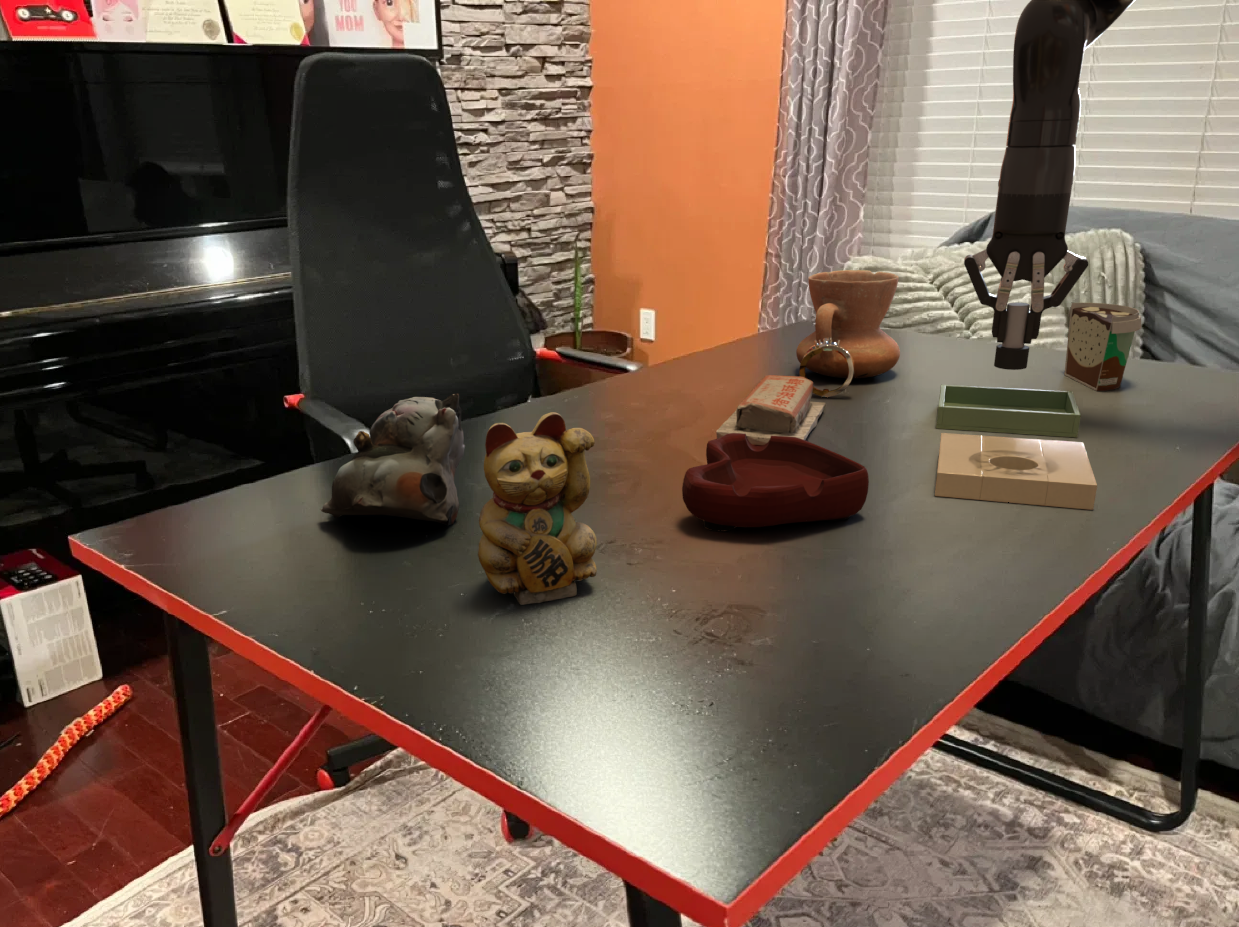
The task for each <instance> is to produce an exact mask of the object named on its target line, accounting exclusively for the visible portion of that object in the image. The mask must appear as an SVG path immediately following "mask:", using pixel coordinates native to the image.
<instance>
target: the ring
mask: <svg viewBox="0 0 1239 927" xmlns="http://www.w3.org/2000/svg"><path fill="white" fill-rule="evenodd" d="M839 342H840V340H837V343H836V342H832V338H831V337H829V338H824V339H823V342H821V340H819V343H818V344H817V340H815V341H814V343H815V345H814V346H812V347H811V348H810V349H809V350H808V351H807V352H806V354H805V355H804V357H803V359H802V361H801V364H800V363H799V376H801V377H804V378H806V379H808V377H807V374H806V369H807V368H806V364H807V362H808V361H809V360H810V359H811V358H812V357H813V356H815V355H817V354H819V353H821V352H822V350H823V351H832V350H835V351H836V352H838V353H839V354H841V355H842V356H843V357H844V358H845V359H846V361H847V363H848V367H849V373H848V377H847V378H846V379H845V381H844V383H843V384H842V385H841V386H839V387H838V388H835V389H832V390H830V389H829V388H823V389H819V388H817V387H815V386H814V385H813V392H812V394H814V395H816V396H819V397H821V398H822V397H823V396H825V397H827V398H828V397H834V396H837V395H839V394H841V393H842V392H844V391H845V390H846V389H847V388H848V387H849V386H850V384H851V383H852V381H853V380H854V378H853V376H854V371H855V365H854V361H853V358H852V356H851V355H850V354H849V352H847V351H846V350H845V349H844V348H842V347H840V346H838V345H839Z"/></svg>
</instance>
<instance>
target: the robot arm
mask: <svg viewBox="0 0 1239 927" xmlns="http://www.w3.org/2000/svg"><path fill="white" fill-rule="evenodd" d="M1135 1H1136V0H1030V1H1029V2H1028V3H1027V4H1026V6H1025V7H1024V8H1023V10H1022V11H1021V13H1020V15H1019V18H1018V20H1017V24H1016V28H1015V33H1014V40H1013V55H1012V104H1011V108H1010V109H1011V110H1010V113H1009V120H1008V121H1009V122H1008V128H1007V136H1006V144H1005V146H1006V147H1005V150H1004V155H1003V158H1002V163H1001V166H1000V173H999V179H998V181H997V182H998V183H997V188H998V190H997V196H996V203H995V204H996V205H995V213H994V222H993V230H992V236H991V238H990V240H989V242H988V243H987V245H986V248H985V249H984V250H982V251H981V250H980V251H979V252H977V253H974V254H968V255H965V257H964V259H963V265H964V267H965V270H966V272H967V274H968V277H969V280H970V282H971V284H972V287H973V289H974V291H975V293H976V296H977V298H978V301H979V303H980V305H983V306H987V307H988V308H989V307H990V308H991V309H992V310H993V318H992V325H991V335H992V338H996V343H998V344H1002V343H1003V342H1004V335H1005V327H1006V320H1007V304H1008V303H1009V300H1010V295H1011V292H1012V288H1013V284H1014V282H1018V281H1019V282H1020V281H1026V282H1029V283H1030V304H1029V305H1030V307H1029V312H1028V320H1027V327H1026V334H1025V341H1024V345H1031V344H1032V341H1033V340H1037V338H1038V337H1039V334H1040V329H1041V328H1040V327H1041V320H1042V314H1043V312H1044V311H1046V310H1047V309H1051V308H1058V307H1059V306H1060V305H1061V304H1062V303H1063V302H1064V301H1065V299H1066V298H1067V296H1068V295H1069V293H1070V292H1071V291H1072V289H1073V288H1074V286H1075V285H1076V283H1077V282H1078V281H1079V280H1080V278H1081V277H1082V276H1083V274H1084V273H1085V271H1086V270H1087V268H1088V267H1089V261H1088V259H1087V258H1086V257H1084V256H1081V255H1078V254H1075V253H1074V252H1072V251H1069V247H1068V244H1067V241H1066V230H1067V223H1068V217H1069V210H1070V205H1071V204H1070V203H1071V202H1070V201H1071V196H1072V188H1073V184H1074V176H1075V169H1076V144H1077V139H1078V130H1079V125H1080V117H1081V109H1082V108H1081V107H1082V104H1081V103H1082V101H1081V94H1080V90H1079V89H1080V88H1079V86H1080V81H1081V80H1080V79H1081V73H1082V68H1083V66H1082V65H1083V61H1084V54H1085V50H1086V49H1087V48H1089V47H1090V46H1091V45H1092V44H1094V42H1096V40H1098V39H1099V38H1100V37H1101V36H1102V35H1103V34H1104V33H1106V31H1107V30H1108V29H1109V28H1110V27H1111V25H1113V24H1114V23H1115V22H1116V21H1117V20H1118V19H1119V17H1121V15H1122V14H1123V13H1125V12H1126V10H1127V9H1128V8H1129V7H1131V5H1132V4H1133V3H1134V2H1135ZM988 258H989V260H990V262H991V263H992V265H993V266H994V268H995V269H996V271H997V273H998V274H999V276H1000V280H999V285H998V289H997V294H996V295H995V294H992V293H990V290H989V288H988V285H987V284H986V282H985V278H984V276H983V274H982V272H983V271H984V270H985V269H986V261H987V259H988ZM1062 260H1064V264H1063V266H1062V269H1063V271H1064V272H1065V273H1064V275H1063V276H1062V277H1061V279H1060V281H1059V282H1058V283H1057V285H1056V286H1055V288H1054V289H1053V290H1052V292H1051V293H1050V294H1049V295H1045V278H1046V277H1047V276H1048V275H1049V274H1050V273H1051V272H1052V271H1053V270H1054V269H1055V268H1056V266H1057V265H1058V264H1059V263H1060V262H1062Z"/></svg>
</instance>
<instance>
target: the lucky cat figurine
mask: <svg viewBox="0 0 1239 927" xmlns="http://www.w3.org/2000/svg"><path fill="white" fill-rule="evenodd" d="M464 440H465V439H464V430H463V428H462V408H461V407H460V394H459V393H453V394H451V395H449V396H447V398H445V399H443V400H440V399H436V398H435V397H427V396H426V397H425V396H413V397H410V398H405V399H400V400H398V401H397V403H395V404H394V405H393V407H392V408H390V409H389V408H388V410H385V411H384V412H383V413H381V414H380V415H379V416H378V417H377V418H376V420H375V421H374V422H373V424H372V425H371V427H370V429H369V433H368V432H366V431H363V430H359V431H358V432H357V434H356V435H355V438H353V442H352V443H353V445H354V446H355V448H356V450H357V453H356V454H355V455H354V456H352V458H351V459H350V461H348V462H347V463H345V464H343V465H342V466H340V467H339V469H338V471H337V473H336V474H335V477H334V479H333V481H332V483H331V497H330V500H329V501H326V502H325V503H323V505H322V508H319V510H320V511H321V512H322V513H324V514H330V515H331V516H332V517H334V518H335V519H339V518H340V517H342V516H389V517H397V518H403V519H404V518H405V519H412V520H420V521H427V522H436V523H439V524H442V525H445V526H450V525H453V524H454V522H455V520H456V519H457V517H458V514H459V508H460V503H459V502H460V500H459V497H458V490H457V487H456V485H455V475H456V470H457V468H458V466H459V464H460V462H461V460H462V459H463V457H464V454H465V447H466V445H465V443H464Z"/></svg>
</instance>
